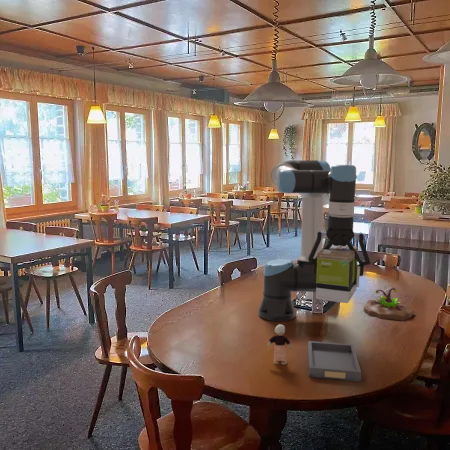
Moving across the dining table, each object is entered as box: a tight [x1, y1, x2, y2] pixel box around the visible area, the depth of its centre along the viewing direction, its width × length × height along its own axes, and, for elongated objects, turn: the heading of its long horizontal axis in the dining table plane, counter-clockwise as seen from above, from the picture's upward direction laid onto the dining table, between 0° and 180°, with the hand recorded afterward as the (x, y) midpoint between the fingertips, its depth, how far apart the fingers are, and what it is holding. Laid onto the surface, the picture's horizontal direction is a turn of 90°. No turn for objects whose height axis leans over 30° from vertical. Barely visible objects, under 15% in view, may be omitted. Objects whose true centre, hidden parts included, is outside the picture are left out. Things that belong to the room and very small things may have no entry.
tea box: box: [315, 245, 359, 304], centre depth 139 cm, size 15×10×15 cm
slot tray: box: [307, 340, 362, 382], centre depth 143 cm, size 15×20×3 cm
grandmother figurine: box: [266, 323, 293, 366], centre depth 143 cm, size 8×4×13 cm, turn 88°
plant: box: [363, 287, 414, 321], centre depth 193 cm, size 20×20×11 cm
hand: (337, 285), depth 140 cm, fingers closed on tea box, 11 cm apart
